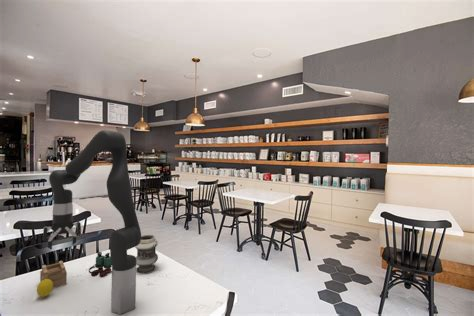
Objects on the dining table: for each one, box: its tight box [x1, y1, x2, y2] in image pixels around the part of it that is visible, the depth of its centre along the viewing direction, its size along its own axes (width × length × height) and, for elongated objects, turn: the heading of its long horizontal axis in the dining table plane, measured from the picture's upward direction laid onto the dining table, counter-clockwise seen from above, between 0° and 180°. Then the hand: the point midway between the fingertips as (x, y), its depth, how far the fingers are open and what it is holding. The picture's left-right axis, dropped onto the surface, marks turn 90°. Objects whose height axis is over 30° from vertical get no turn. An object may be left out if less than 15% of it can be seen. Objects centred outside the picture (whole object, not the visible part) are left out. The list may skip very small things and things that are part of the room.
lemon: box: [36, 279, 54, 298], centre depth 101 cm, size 6×6×8 cm
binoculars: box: [88, 251, 112, 278], centre depth 121 cm, size 9×11×10 cm
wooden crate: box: [39, 260, 68, 289], centre depth 111 cm, size 9×9×8 cm
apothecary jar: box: [134, 234, 159, 274], centre depth 128 cm, size 12×12×18 cm
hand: (62, 246), depth 109 cm, fingers open, 8 cm apart
